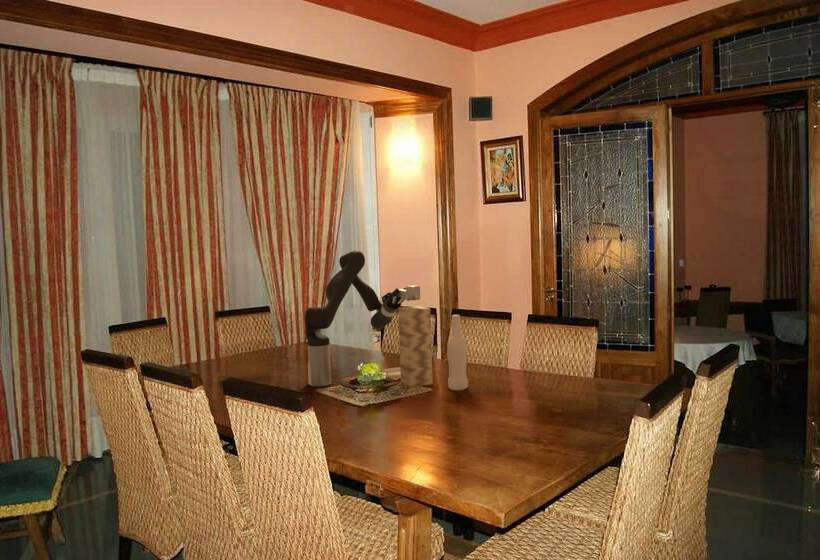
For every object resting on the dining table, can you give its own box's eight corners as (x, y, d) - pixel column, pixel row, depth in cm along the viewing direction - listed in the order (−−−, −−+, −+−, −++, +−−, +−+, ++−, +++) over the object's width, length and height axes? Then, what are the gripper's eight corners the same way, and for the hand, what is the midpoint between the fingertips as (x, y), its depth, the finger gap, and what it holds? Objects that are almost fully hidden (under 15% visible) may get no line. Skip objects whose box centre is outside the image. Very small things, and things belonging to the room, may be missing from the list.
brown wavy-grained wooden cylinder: (410, 386, 267) (407, 310, 264) (400, 381, 277) (398, 307, 275) (432, 384, 270) (430, 308, 268) (422, 378, 281) (419, 305, 278)
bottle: (461, 391, 256) (458, 316, 254) (444, 389, 261) (441, 315, 259) (471, 387, 262) (469, 314, 260) (455, 385, 267) (453, 313, 265)
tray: (387, 381, 278) (387, 375, 278) (376, 375, 291) (376, 369, 290) (417, 377, 283) (417, 372, 283) (405, 371, 296) (405, 366, 296)
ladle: (409, 300, 267) (408, 287, 267) (391, 296, 287) (391, 283, 286) (422, 299, 270) (422, 286, 269) (404, 295, 289) (403, 283, 289)
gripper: (374, 299, 297) (385, 283, 282) (403, 297, 302) (414, 281, 287) (377, 314, 294) (388, 298, 279) (406, 312, 299) (418, 296, 284)
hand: (401, 289), depth 283 cm, fingers closed on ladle, 3 cm apart
